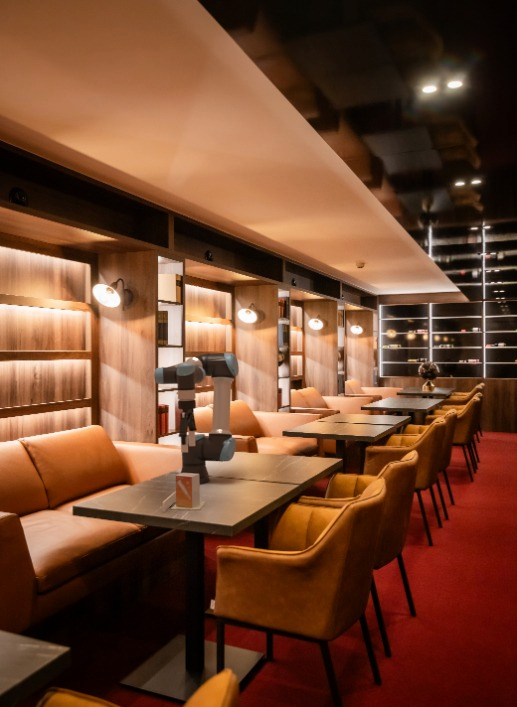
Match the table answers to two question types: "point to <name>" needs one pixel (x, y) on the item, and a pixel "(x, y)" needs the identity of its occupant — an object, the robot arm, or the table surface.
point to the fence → (169, 501)
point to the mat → (188, 507)
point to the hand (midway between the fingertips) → (188, 449)
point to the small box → (187, 490)
